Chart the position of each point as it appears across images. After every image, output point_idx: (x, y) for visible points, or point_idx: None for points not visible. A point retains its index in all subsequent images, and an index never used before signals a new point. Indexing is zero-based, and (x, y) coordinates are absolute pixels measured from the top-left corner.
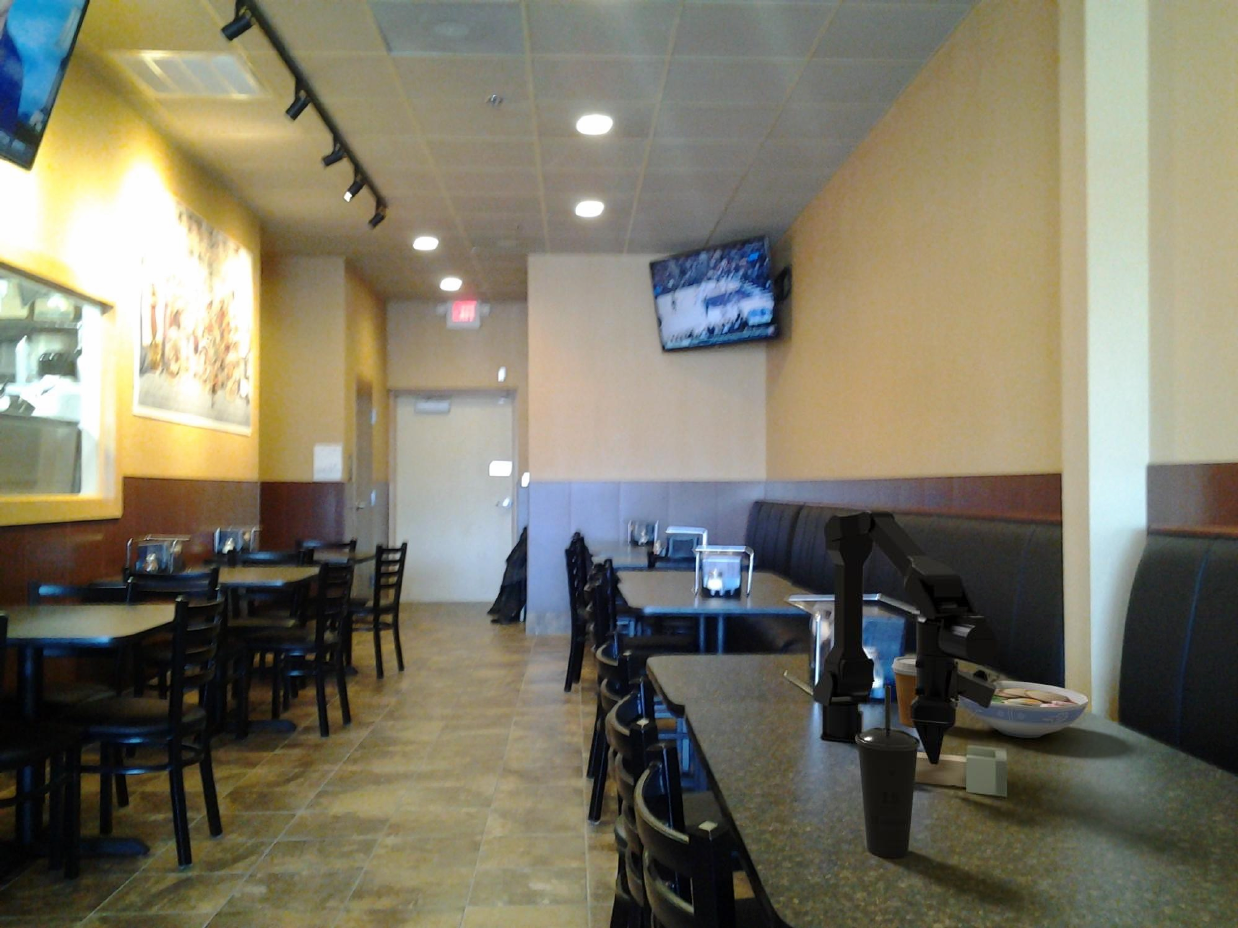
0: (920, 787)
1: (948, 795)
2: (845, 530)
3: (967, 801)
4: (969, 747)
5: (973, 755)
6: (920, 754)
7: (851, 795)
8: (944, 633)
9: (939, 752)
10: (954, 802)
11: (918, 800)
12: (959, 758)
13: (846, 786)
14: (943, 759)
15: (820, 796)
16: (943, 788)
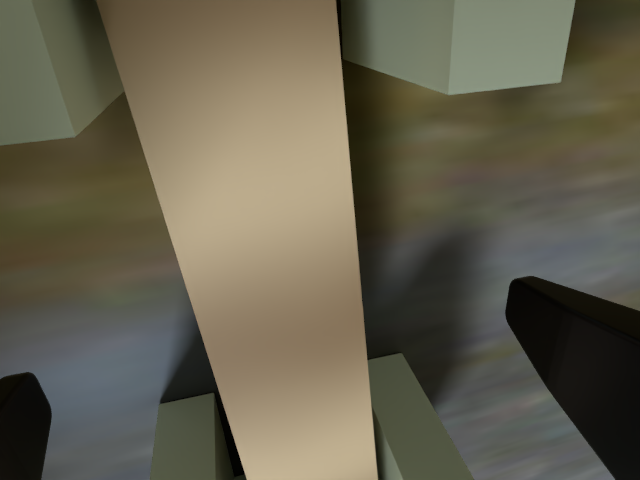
0: (418, 281)
1: (503, 139)
2: None
3: (581, 25)
4: (56, 106)
5: (73, 41)
6: (296, 420)
7: None
8: None
9: (637, 315)
10: (607, 92)
11: (603, 243)
12: (252, 169)
13: (497, 469)
14: (352, 274)
15: (609, 475)
16: (391, 185)
